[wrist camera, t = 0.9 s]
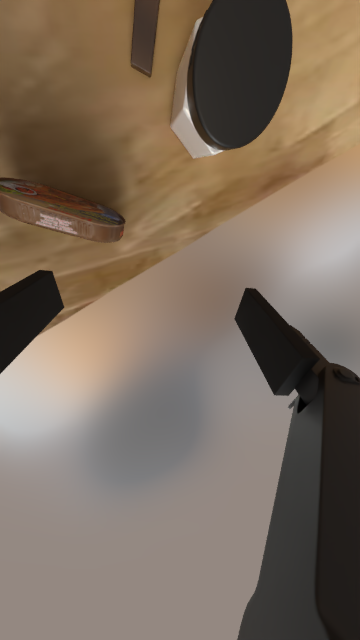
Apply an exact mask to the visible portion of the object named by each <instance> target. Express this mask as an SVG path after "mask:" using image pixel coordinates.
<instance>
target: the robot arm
mask: <svg viewBox="0 0 360 640" xmlns="http://www.w3.org/2000/svg"><path fill="white" fill-rule="evenodd" d="M63 308H64V305H63V302H62V299H61V296H60V293H59V290H58V287H57V284H56V281H55V278H54V275H53V272H52V271H45V270H39V271H37V272H35V273H33V274H32V275H30V276H28V277H26V278H24V279H23V280H21V281H19V282H17V283H15V284H14V285H12V286H10V287H8V288H6V289H5V290H3V291H1V292H0V374H1V372H3V370H4V369H5V368H6V367H7V366H8V365H9V364H10V363H11V362H12V361H13V360H14V359H15V358H16V357H17V356H18V355H19V354H20V353H21V352H22V351H23V350H24V348H26V347H27V346H28V345H29V343H30V342H31V341H32V340H33V339H34V338H35V337H36V336H37V335H38V334H39V333H40V332H41V331H42V330H43V329H44V328H45V327H46V326H47V325H48V324H49V323H50V322H51V321H52V320H53V319H54V317H55V316H56V315H57V314H58V313H59V312H60V311H61V310H62V309H63ZM235 321H236V323H237V325H238V326H239V328H240V330H241V332H242V334H243V336H244V338H245V340H246V342H247V344H248V346H249V347H250V349H251V351H252V353H253V355H254V357H255V359H256V361H257V363H258V365H259V366H260V369H261V370H262V372H263V374H264V376H265V378H266V380H267V382H268V384H269V386H270V388H271V390H272V392H273V394H274V395H287V396H288V395H289V394H290V393H291V392H292V391H293V390H294V389H296V391H297V392H298V394H299V395H298V396H297V397H296V399H294V401H293V402H292V403H291V404H290V405H289V407H288V408H292V407H293V406H294V409H293V413H292V418H291V423H290V428H289V434H288V438H287V443H286V448H285V453H284V458H283V462H282V467H281V472H280V477H279V482H278V487H277V492H276V497H275V502H274V506H273V511H272V516H271V522H270V526H269V531H268V536H267V541H266V546H265V551H264V555H263V561H262V566H261V570H260V576H259V580H258V584H257V587H256V590H255V593H254V594H253V596H252V597H251V599H250V601H249V602H248V604H247V607H246V609H245V612H244V615H243V619H242V622H241V626H240V631H239V635H238V639H237V640H360V378H359V377H358V376H357V375H356V374H355V373H353V372H352V371H351V370H349V369H347V368H346V367H344V366H341V365H338V364H334V363H329V362H328V361H327V360H326V359H325V358H324V357H323V356H322V354H321V353H320V352H319V351H318V350H316V348H315V347H314V346H313V345H312V344H310V342H309V341H308V340H307V339H305V337H304V336H303V335H302V333H300V331H298V330H297V329H295V328H294V327H292V326H291V325H289V324H288V323H287V322H286V321H285V320H284V319H283V318H282V317H281V316H280V315H279V314H278V312H277V311H276V310H275V309H274V308H273V307H272V306H271V305H270V304H269V303H268V302H267V300H266V299H265V298H264V297H263V296H262V295H261V294H260V293H259V292H258V291H257V290H256V289H252V288H246V289H245V291H244V294H243V297H242V300H241V302H240V305H239V308H238V311H237V313H236V316H235Z"/></svg>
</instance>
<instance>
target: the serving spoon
mask: <svg viewBox="0 0 360 640" xmlns="http://www.w3.org/2000/svg"><path fill="white" fill-rule="evenodd" d="M158 9H159V0H135V9H134V24H133V38H132V53H131V67H133V68H134V69H136V70H138V71H140V72H142V73H143V74H145V75H147V76H149V77H151V70H152V61H153V53H154V44H155V35H156V26H157V18H158Z"/></svg>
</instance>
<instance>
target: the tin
mask: <svg viewBox="0 0 360 640" xmlns="http://www.w3.org/2000/svg"><path fill="white" fill-rule="evenodd" d="M0 211H1V212H2V213H4V214H6V215H7V216H9V217H11V218H13V219H16V220H19V221H21V222H25V223H28V224H32V225H36V226H39V227H43V228H46V229H50V230H54V231H57V232H61V233H64V234H68V235H72V236H76V237H80V238H83V239H87V240H91V241H96V242H104V243H111V242H116V241H119V240H120V239H121V238H122V236H123V229H124V224H125V219H124V218H123V217H122V216H121V215H120V214H119V213H117V212H116V211H114V210H112V209H110V208H107V207H105V206H103V205H100V204H97V203H94V202H91V201H88V200H85V199H82V198H80V197H77V196H74V195H71V194H68V193H65V192H62V191H59V190H57V189H54V188H51V187H48V186H45V185H42V184H38V183H34V182H30V181H26V180H21V179H14V178H0Z"/></svg>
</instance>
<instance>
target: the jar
mask: <svg viewBox="0 0 360 640" xmlns="http://www.w3.org/2000/svg"><path fill="white" fill-rule="evenodd" d="M291 58H292V25H291V18H290V13H289V9H288V6H287V2H286V0H213V1H212V3H211V4H210V6H209V8H208V10H206V12H205V14H204V16H203V17H201V18H199V19H198V20H197V21H196V23H195V25H194V28H193V31H192V33H191V36H190V38H189V41H188V44H187V46H186V49H185V52H184V54H183V57H182V60H181V62H180V65H179V68H178V70H177V76H176V84H175V92H174V100H173V109H172V117H171V125H170V126H171V129H172V130H173V131H174V133H175V134H176V135H177V137H178V138H179V140H180V141H181V142H182V144H183V145H184V146H185V148H186V149H187V150H188V152H189V153H190V155H191V156H192V157H193V158H194V159H195V158H200V157H206V156H211V155H215V154H218V153H220V152H222V151H225V150H231V149H236V148H240V147H243V146H245V145H247V144H249V143H250V142H252V141H253V140H254V139H256V138H257V137H258V136H259V135H260V134H261V133H262V132H263V131H264V129H265V128H266V127H267V126H268V124H269V123H270V121H271V120H272V118H273V116H274V114H275V113H276V111H277V109H278V106H279V104H280V102H281V99H282V97H283V94H284V91H285V88H286V84H287V81H288V76H289V72H290V65H291Z"/></svg>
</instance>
